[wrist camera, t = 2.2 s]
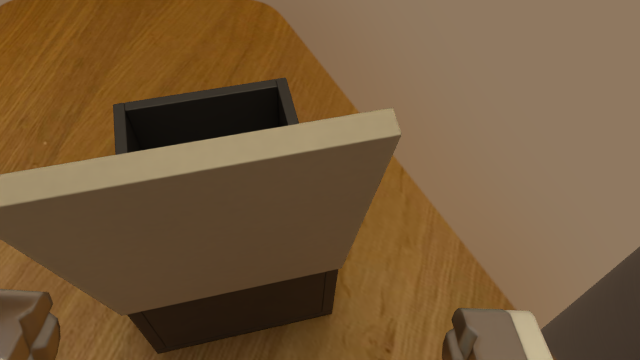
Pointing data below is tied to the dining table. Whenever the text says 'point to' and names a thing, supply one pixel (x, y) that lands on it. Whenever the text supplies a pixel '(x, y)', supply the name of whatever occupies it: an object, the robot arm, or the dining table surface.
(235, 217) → the box lid
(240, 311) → the open box
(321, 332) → the dining table surface
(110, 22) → the dining table surface
